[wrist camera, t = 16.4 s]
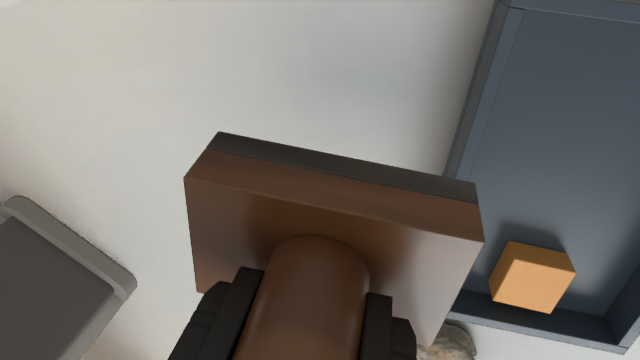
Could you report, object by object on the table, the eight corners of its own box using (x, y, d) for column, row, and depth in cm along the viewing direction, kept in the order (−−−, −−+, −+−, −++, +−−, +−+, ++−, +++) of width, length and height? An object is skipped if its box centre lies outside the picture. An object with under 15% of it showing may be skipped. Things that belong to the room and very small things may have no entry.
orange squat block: (508, 239, 29) (514, 258, 27) (567, 252, 28) (577, 273, 27) (487, 280, 31) (492, 301, 29) (542, 293, 30) (550, 314, 29)
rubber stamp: (218, 130, 13) (4, 410, 6) (475, 182, 12) (543, 555, 6) (223, 240, 16) (83, 506, 9) (430, 286, 15) (437, 607, 9)
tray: (500, -20, 22) (514, -13, 19) (809, 19, 20) (874, 32, 17) (411, 279, 33) (412, 311, 30) (604, 317, 31) (623, 355, 29)
